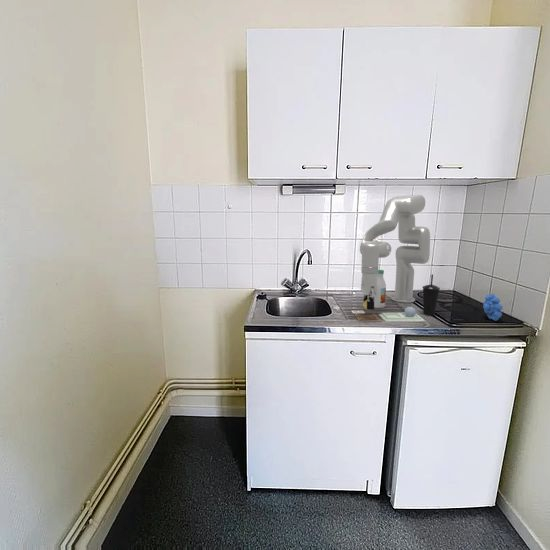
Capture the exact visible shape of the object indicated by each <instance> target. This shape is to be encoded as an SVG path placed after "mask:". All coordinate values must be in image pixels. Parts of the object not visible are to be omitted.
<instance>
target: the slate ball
mask: <svg viewBox="0 0 550 550" xmlns="http://www.w3.org/2000/svg"><path fill="white" fill-rule="evenodd" d="M416 311H417V310H416V309H415V308H414V307H412V306H408V307H407V306H406V307H405V308H404V312H403V313H405V315H406V316H407V317H413V316H415V314H417V312H416Z"/></svg>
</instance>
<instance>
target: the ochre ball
mask: <svg viewBox="0 0 550 550" xmlns="http://www.w3.org/2000/svg"><path fill="white" fill-rule="evenodd" d="M367 301H368V300H366V301H364V300H363V304H362V305H363V308H364V309H365V310H367ZM367 311H368V310H367Z"/></svg>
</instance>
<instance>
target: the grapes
mask: <svg viewBox="0 0 550 550" xmlns="http://www.w3.org/2000/svg"><path fill="white" fill-rule="evenodd" d="M482 307H483V309H484V313H486V314H487V315H486V316H487V318H488V319H489V320H491V319H492V320H493V321H494V322H497V321H499V318H501V317H502V316H503V313H502V312H501V311H502V310H503V306H502V304H501V300H500V298H499V297H497V295H495V294H494V293H490V294H489V295H488V294H487V295H485V297H484V301H483V303H482Z"/></svg>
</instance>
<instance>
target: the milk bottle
mask: <svg viewBox="0 0 550 550" xmlns="http://www.w3.org/2000/svg"><path fill="white" fill-rule="evenodd" d="M376 275H377V292H376V295H375V299H374V309H384V308H385V307H386V296H387V295H386V294H387V283H386V281H385V278H384V270H383V269H378V274H376ZM370 295H371V293H370ZM370 297H371V296H370ZM370 297H369V298H370Z"/></svg>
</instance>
